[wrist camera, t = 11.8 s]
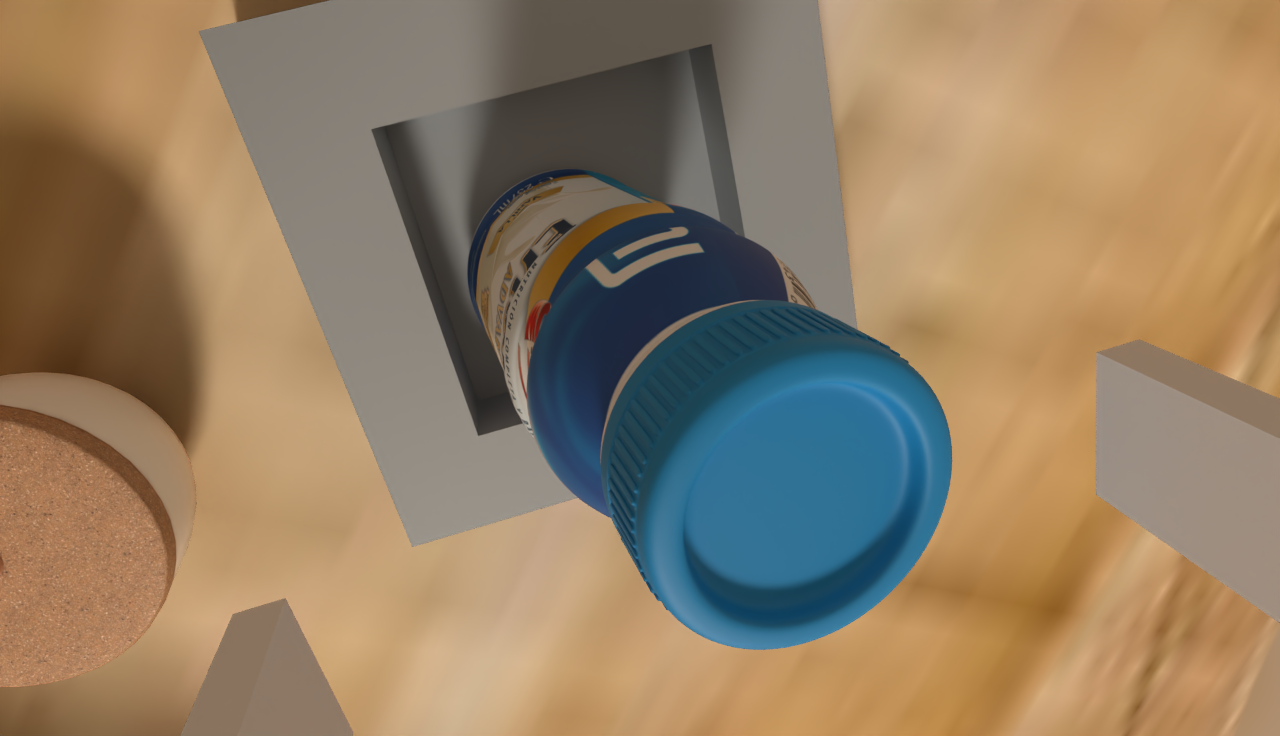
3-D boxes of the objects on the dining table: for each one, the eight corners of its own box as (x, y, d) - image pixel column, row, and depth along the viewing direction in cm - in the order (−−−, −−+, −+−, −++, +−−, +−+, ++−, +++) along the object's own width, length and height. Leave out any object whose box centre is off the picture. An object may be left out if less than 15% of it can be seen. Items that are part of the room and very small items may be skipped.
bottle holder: (419, 491, 37) (412, 547, 33) (238, 33, 29) (198, 31, 25) (826, 373, 39) (867, 411, 35) (760, -91, 31) (804, -112, 27)
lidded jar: (-109, 483, 33) (-319, 638, 24) (25, 280, 31) (-151, 369, 22) (148, 600, 36) (47, 769, 28) (280, 427, 35) (215, 550, 26)
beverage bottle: (649, 365, 36) (941, 668, 18) (456, 364, 33) (573, 723, 15) (674, 172, 33) (1048, 301, 15) (466, 152, 30) (623, 283, 12)
